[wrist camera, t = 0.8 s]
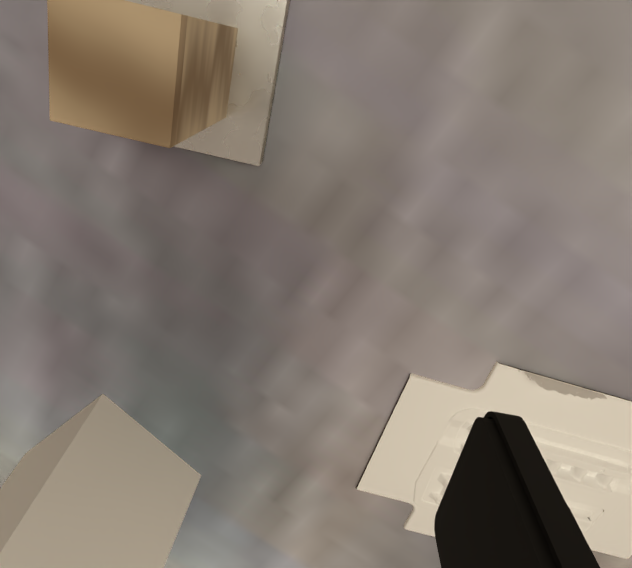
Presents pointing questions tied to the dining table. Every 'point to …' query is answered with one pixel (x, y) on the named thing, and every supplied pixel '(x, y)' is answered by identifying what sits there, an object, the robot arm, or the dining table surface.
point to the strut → (137, 70)
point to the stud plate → (240, 73)
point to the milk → (95, 496)
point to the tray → (547, 431)
